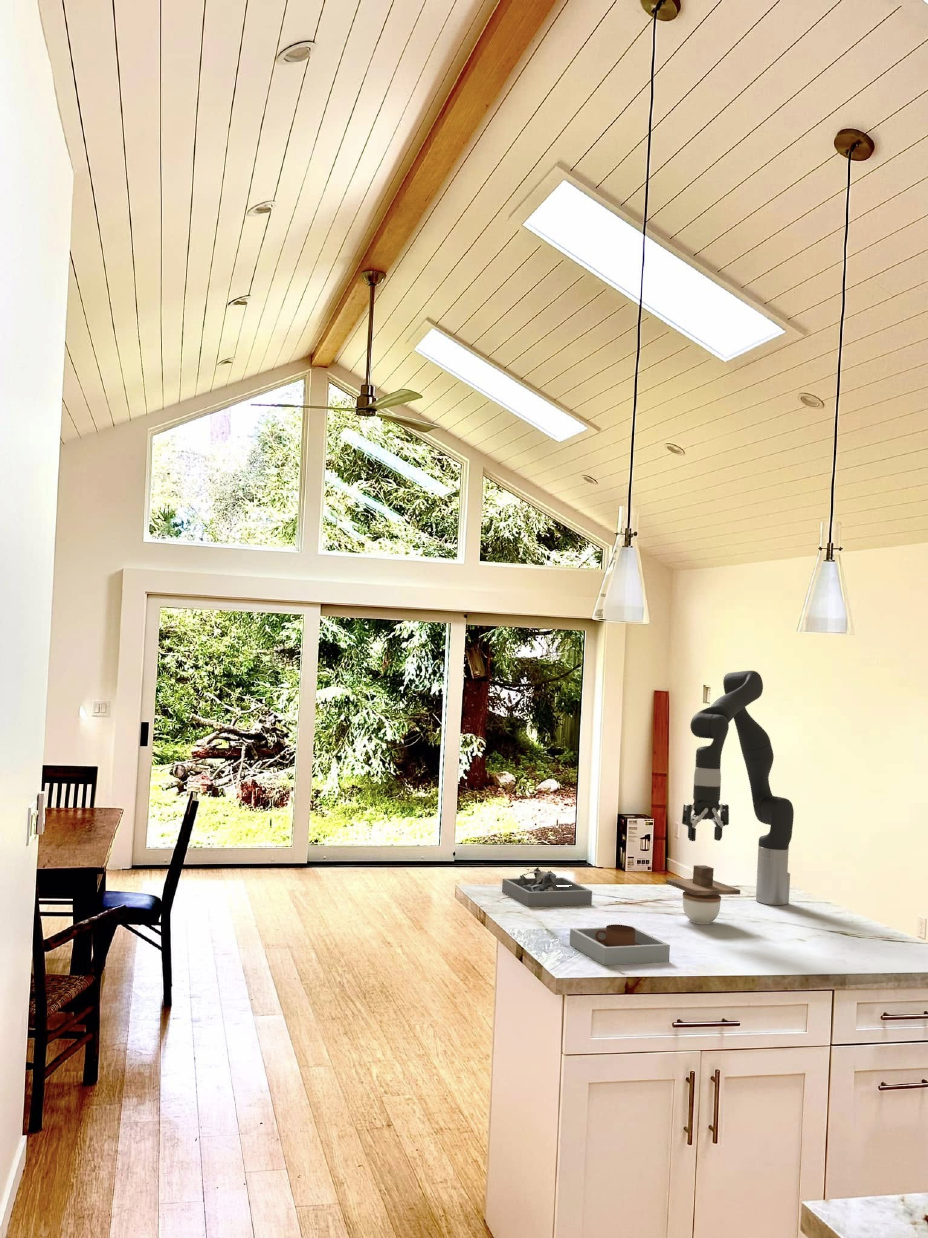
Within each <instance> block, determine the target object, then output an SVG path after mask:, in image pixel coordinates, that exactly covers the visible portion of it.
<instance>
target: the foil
mask: <svg viewBox="0 0 928 1238" xmlns="http://www.w3.org/2000/svg"><path fill="white" fill-rule="evenodd" d="M526 870H527V871H528V872H527V873H523V874H521V875H519V880H520V881H519V882H518V884H517V885H518V886H520V887H522V888H524V889H526V890H528V891H530V892H542V891H555V887H556V885H550V884H549V885H548V886H547V883H555V878H557V875H556V874H555V873H554V872H552V871H551V870H549V871H545V870H544V871H541V870H540V867H539V866H537V867H536V868H535V869H533V870H532V871H529V870H530V869H529V868H526ZM529 874H533V875H534V878H535V880H534V881H533V882H532V883H531V882H530V881H529V880H528V879H527V878H528V877H526V875H529ZM538 883H539V884H538ZM536 886H537V887H536ZM538 886H539V887H538ZM535 888H536V889H535Z"/></svg>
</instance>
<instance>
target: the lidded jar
mask: <svg viewBox="0 0 928 1238" xmlns="http://www.w3.org/2000/svg"><path fill="white" fill-rule="evenodd" d="M721 901H722V896H721V895H694V894H691V893H689V892H686V891H683V892H682V907H683V912H684V914H685V916H686V917H687V918H688V920H689V922H690V923H692V924H696V925H697V924H698V925H712V923H713V922H714V921H715V920H716V919H717V917H718V916H719V913H720V910H721Z"/></svg>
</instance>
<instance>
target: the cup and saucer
mask: <svg viewBox="0 0 928 1238" xmlns="http://www.w3.org/2000/svg"><path fill="white" fill-rule="evenodd" d="M630 926H631V925H626V924H625V925H624V924H608V925H606V926H605V927H606V931H605V930H598V931H597V932H596V934H595V938H596V940H597V942H599V943H600V944H602V945H604V946H606V947H615V946H636V945H641V944H639V943H636V942H635V932H636V929H635V928H636V927H635V928H633V927H634V926H633V927H630ZM599 933H604V934H606V938H605V939H602V940H601V939H599V938H598V934H599Z"/></svg>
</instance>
